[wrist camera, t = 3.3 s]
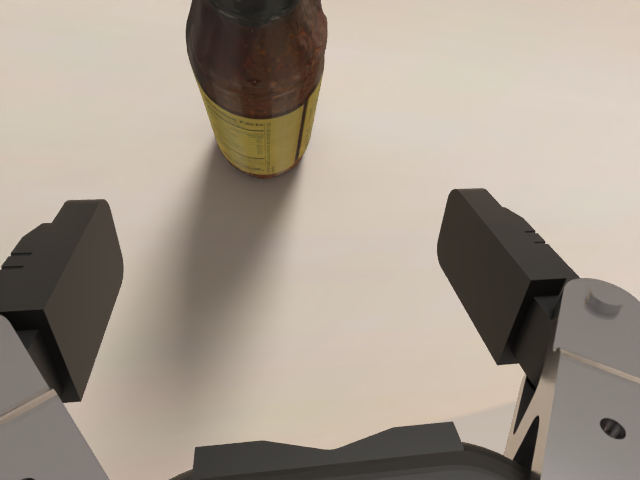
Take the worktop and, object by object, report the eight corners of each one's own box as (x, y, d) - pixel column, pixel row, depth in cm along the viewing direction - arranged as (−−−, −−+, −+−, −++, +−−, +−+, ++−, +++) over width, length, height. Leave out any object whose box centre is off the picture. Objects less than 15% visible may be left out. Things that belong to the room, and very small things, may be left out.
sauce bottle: (266, 81, 32) (270, -286, 13) (326, 144, 32) (423, -135, 13) (194, 138, 31) (77, -178, 11) (256, 204, 30) (244, -5, 11)
